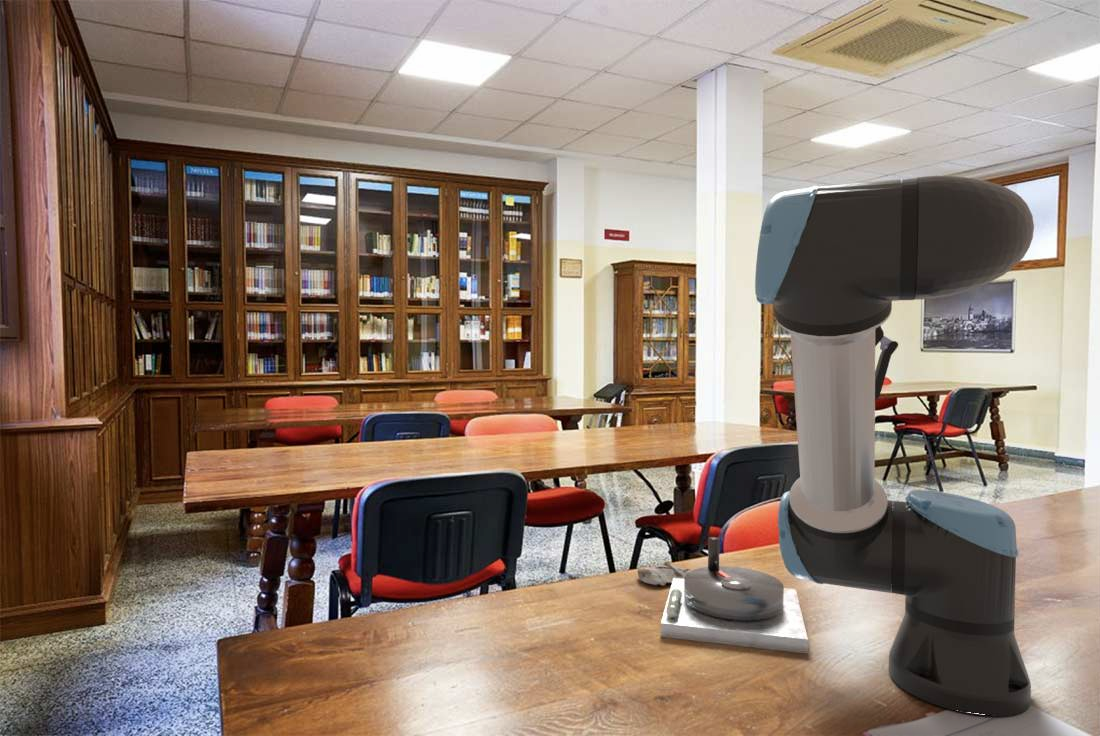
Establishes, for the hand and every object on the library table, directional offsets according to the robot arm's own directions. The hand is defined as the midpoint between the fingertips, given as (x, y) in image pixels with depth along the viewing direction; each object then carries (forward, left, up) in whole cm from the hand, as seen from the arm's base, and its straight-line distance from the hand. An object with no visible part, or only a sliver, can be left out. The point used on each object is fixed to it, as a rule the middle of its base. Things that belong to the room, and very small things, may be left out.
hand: (853, 441), depth 113 cm
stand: (-14, +19, -26) cm, 35 cm away
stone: (0, +31, -27) cm, 41 cm away
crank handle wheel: (-13, +19, -24) cm, 34 cm away
